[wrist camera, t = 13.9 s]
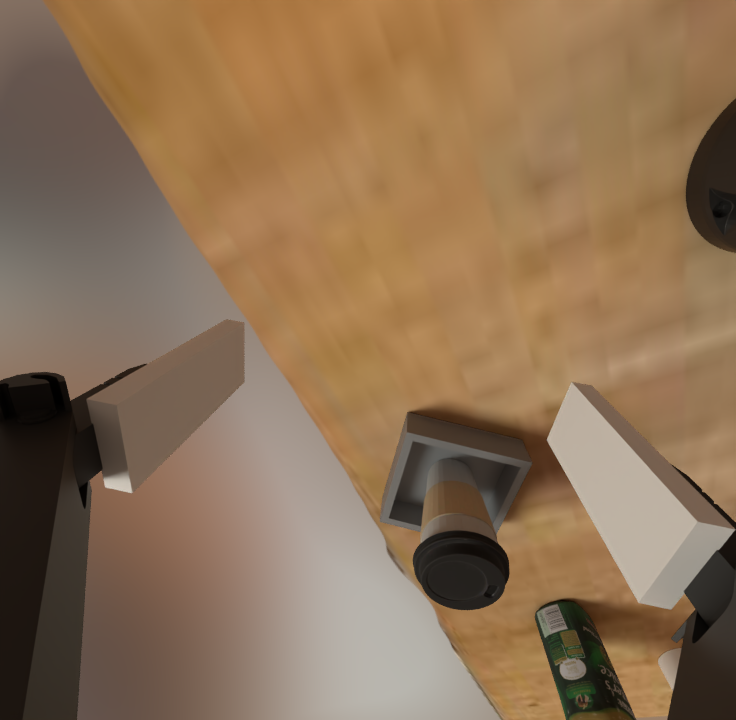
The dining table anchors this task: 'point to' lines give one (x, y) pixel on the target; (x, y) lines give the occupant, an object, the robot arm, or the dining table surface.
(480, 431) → the tray
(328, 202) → the dining table surface
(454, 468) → the coffee cup
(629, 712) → the coffee jar
